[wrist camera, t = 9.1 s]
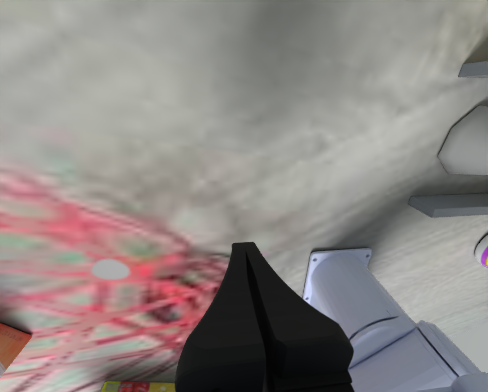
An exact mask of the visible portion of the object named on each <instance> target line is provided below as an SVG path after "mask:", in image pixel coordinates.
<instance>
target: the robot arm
mask: <svg viewBox="0 0 488 392" xmlns="http://www.w3.org/2000/svg"><path fill="white" fill-rule="evenodd" d="M371 254H372V250H371V249H370V248H362V249H348V250H333V251H318V252H313V253H312V254H311V256H310V261H309V267H308V272H307V277H306V283H305V288H304V293H303V299H302V298H301V297H300V296H299V295H297V294H296V293H295V292H294V291H293V290H292V289H291V288H290V287H289V286H288V285H287V284H286V283H285V282H284V281H283V280H282V279H281V278H280V277H279V276H278V275H277V274H276V272H275V271H274V270H273V269H272V268H271V266H270V265H269V264H268V262H267V261H266V260H265V258H264V257H263V256H262V254H261V253H260V251H259V249H258V248H257V246H256V244H255V243H254V242H243V243H233V244H232V253H231V258H230V262H229V265H228V268H227V271H226V274H225V276H224V279H223V281H222V284H221V286H220V288H219V290H218V292H217V294H216V296H215V298H214V300H213V302H212V303H211V305H210V307H209V308H208V310H207V311H206V313H205V315H204V316H203V318H202V319H201V321H200V322H199V323H198V325H197V326H196V327H195V329H194V330H193V331H192V333H191V334H190V335H189V337H188V338H187V340H186V343H185V345H184V348H183V350H182V353H181V356H180V359H179V363H178V366H177V371H176V378H175V392H488V373H485V372H481V371H480V370H479V369H478V368H477V367H476V366H475V365H474V364H473V363H472V361H471V360H470V359H469V358H468V357H467V356H466V355H465V354H464V353H463V352H462V351H461V350H460V349H459V348H458V347H457V346H456V345H455V344H454V343H453V342H452V341H451V340H450V339H449V338H448V337H447V336H446V335H445V334H444V333H443V332H442V331H441V330H440V329H439V328H438V327H437V326H436V325H434V324H432V323H428V322H427V323H426V322H425V321H423V320H421V321H419V322H418V323H417V324H416V323H415V322H414V321H413V320H411V318H410V317H409V316H408V315H407V314H406V313H405V311H404V310H403V309H402V308H401V307H400V306H399V304H398V303H397V302H396V301H395V300H394V299H393V297H392V296H391V295H390V294H389V293H388V292H387V290H386V289H385V288H384V287H383V286H382V285H381V284H380V282H379V281H378V280H377V279H376V278H375V277H374V275H373V274H372V273H371V272H370V271H369V270H368V268H367V266H368V263H369V260H370V257H371ZM314 258H315V259H314Z"/></svg>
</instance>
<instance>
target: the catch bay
mask: <svg viewBox="0 0 488 392" xmlns="http://www.w3.org/2000/svg"><path fill="white" fill-rule="evenodd" d="M458 77H485V78H488V61H483V62H475V63H467V64H463V66H462V68H461V71H460V74H459V76H458ZM408 204H409V205H410V206H412V207H414V208H416V209H417V210H419V211H421V212H423V213H424V214H426V215H428V216H430V217H431V218H433V217H451V216H470V215H488V193H481V194H458V195H435V196H412V197H411V198H410V201H409V203H408Z"/></svg>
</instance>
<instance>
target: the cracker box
mask: <svg viewBox="0 0 488 392" xmlns="http://www.w3.org/2000/svg"><path fill="white" fill-rule="evenodd" d="M31 337H32V335H29V334H26V333H24V332H21V331H19V330H17V329H14V328H12V327H9V326H7V325H4V324H2V323H0V377H1V376H2V375H3V374H4V372H5V371H6V369H7V368H8V367H9V366H10V364H11V363H12V362H13V360H14V359H15V358H16V357H17V355H18V354H19V353H20V352H21V350H22V349H23V348H24V347H25V345H26V344H27V343H28V341H29V340H30V339H31Z"/></svg>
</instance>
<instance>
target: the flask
mask: <svg viewBox="0 0 488 392" xmlns="http://www.w3.org/2000/svg"><path fill="white" fill-rule="evenodd" d="M438 158H439V159H440V161H441V163H442V164H443V166H444V167H445V169H446V171H447V172H448V173H451V174H467V175H488V106H482V105H479V106H478V107H477V108H475V109H474V110H473V111H472V112H471V113H469V114H468V115H467V116H466V117H465V118H464V119H462V120H461V121H460V122H459V123H458V124H456V125H455V126H454V127H453V128H452V129H451V131H450V133H449V135H448V137H447V139H446V141H445V143H444V145H443V147H442V149H441V151H440V153H439V155H438Z"/></svg>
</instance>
